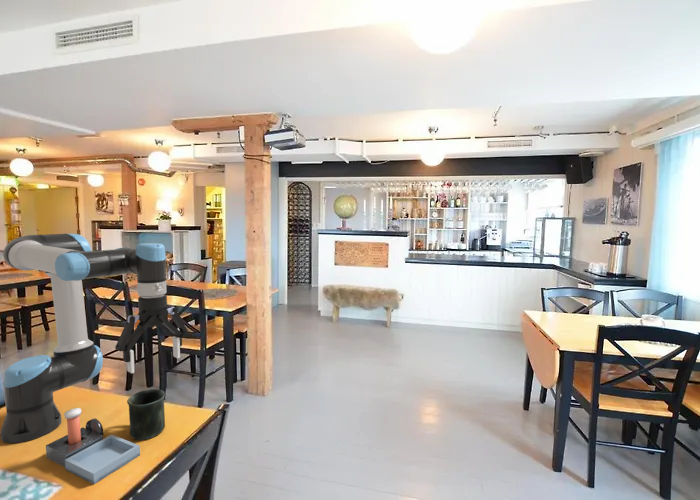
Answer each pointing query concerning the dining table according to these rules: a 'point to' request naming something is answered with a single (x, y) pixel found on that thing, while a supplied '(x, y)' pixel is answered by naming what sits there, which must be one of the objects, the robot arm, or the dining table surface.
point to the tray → (102, 458)
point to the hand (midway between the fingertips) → (154, 364)
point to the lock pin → (73, 425)
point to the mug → (146, 414)
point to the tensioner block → (63, 450)
